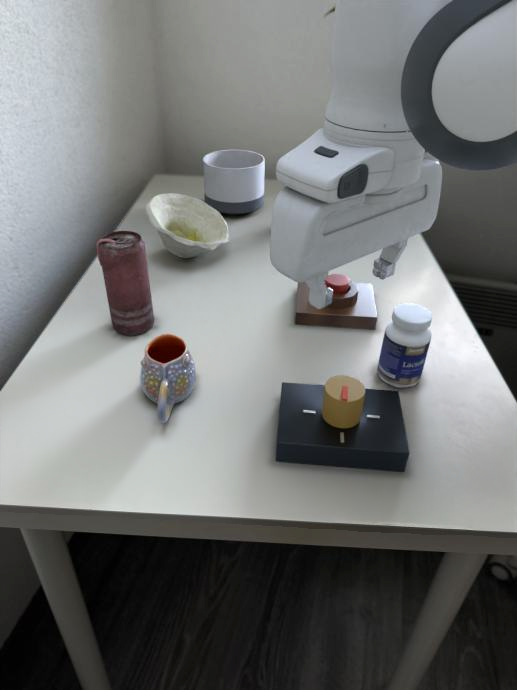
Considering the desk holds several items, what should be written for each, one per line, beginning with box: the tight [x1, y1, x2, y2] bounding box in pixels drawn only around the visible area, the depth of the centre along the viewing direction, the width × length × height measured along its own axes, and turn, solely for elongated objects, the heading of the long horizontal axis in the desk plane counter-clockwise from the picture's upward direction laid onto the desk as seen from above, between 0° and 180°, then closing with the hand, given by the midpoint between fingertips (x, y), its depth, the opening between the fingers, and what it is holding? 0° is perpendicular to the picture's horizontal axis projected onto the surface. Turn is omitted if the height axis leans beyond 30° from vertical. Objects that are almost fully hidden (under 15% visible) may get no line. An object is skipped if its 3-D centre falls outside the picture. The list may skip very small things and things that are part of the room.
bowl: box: [145, 192, 230, 259], centre depth 95 cm, size 15×14×10 cm
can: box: [96, 230, 155, 337], centre depth 75 cm, size 6×6×14 cm
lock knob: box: [322, 374, 366, 428], centre depth 59 cm, size 4×4×4 cm
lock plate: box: [275, 381, 410, 473], centre depth 61 cm, size 14×10×3 cm
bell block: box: [294, 279, 378, 331], centre depth 82 cm, size 12×10×4 cm
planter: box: [202, 149, 266, 216], centre depth 113 cm, size 13×13×10 cm
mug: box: [139, 333, 197, 424], centre depth 64 cm, size 12×7×7 cm, turn 0°
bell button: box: [325, 273, 351, 294], centre depth 81 cm, size 4×4×2 cm
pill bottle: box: [376, 302, 433, 389], centre depth 68 cm, size 6×6×10 cm
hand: (352, 289), depth 55 cm, fingers open, 8 cm apart
